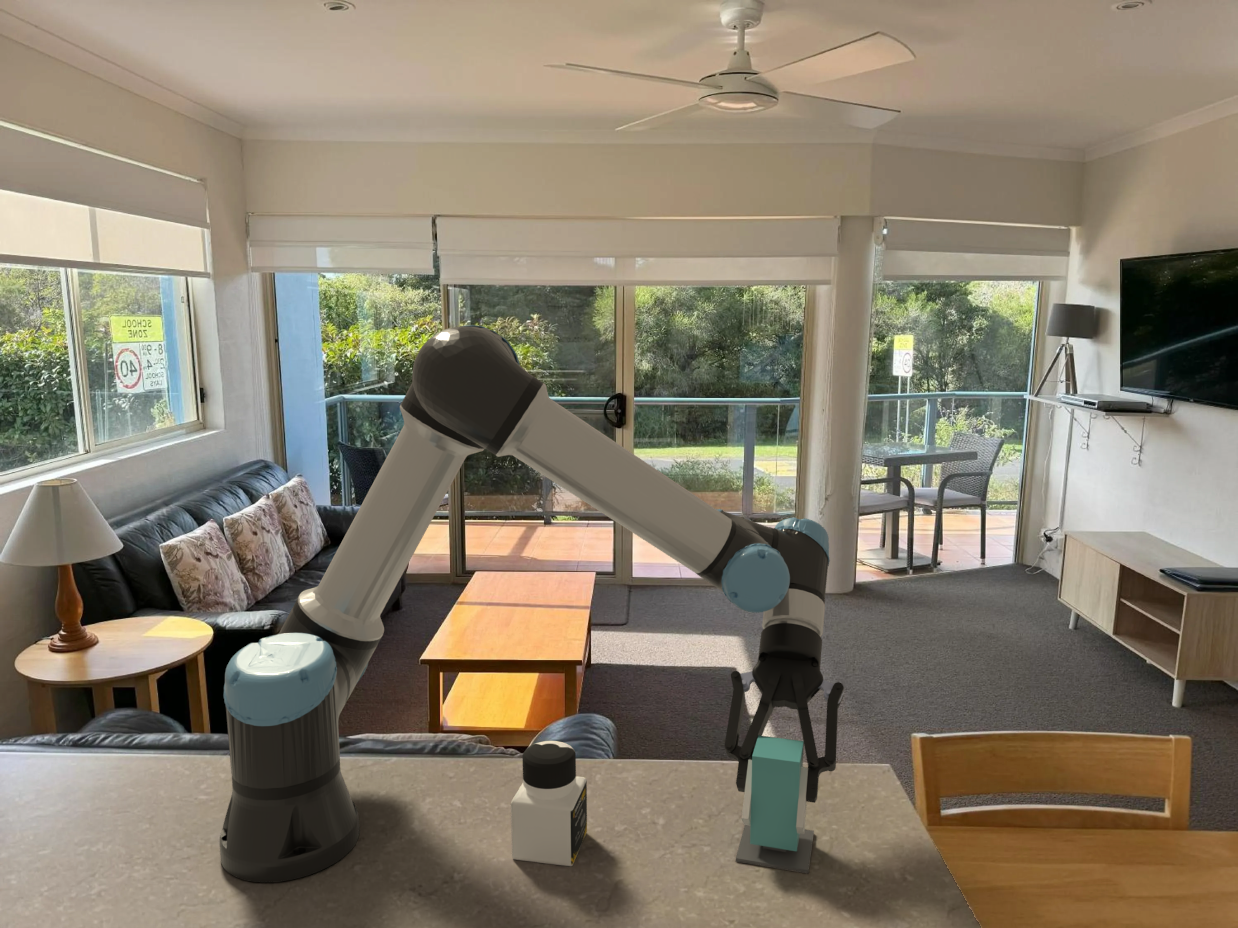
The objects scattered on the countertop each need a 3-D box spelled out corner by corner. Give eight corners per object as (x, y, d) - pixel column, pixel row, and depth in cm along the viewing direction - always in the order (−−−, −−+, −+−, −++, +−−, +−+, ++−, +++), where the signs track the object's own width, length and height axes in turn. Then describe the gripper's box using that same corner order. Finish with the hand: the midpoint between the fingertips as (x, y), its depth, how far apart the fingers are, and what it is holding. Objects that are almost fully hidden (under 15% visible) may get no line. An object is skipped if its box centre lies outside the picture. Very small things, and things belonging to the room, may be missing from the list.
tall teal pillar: (750, 843, 100) (752, 755, 98) (756, 819, 105) (758, 735, 103) (796, 851, 98) (799, 762, 97) (800, 826, 103) (803, 740, 102)
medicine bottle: (572, 867, 98) (571, 766, 96) (511, 860, 99) (508, 760, 98) (587, 832, 105) (587, 737, 103) (530, 825, 106) (528, 731, 104)
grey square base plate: (735, 861, 99) (736, 799, 98) (746, 822, 107) (747, 765, 106) (808, 873, 97) (810, 810, 96) (813, 833, 104) (815, 775, 103)
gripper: (867, 654, 111) (858, 848, 98) (722, 639, 116) (696, 822, 103) (868, 627, 105) (858, 829, 92) (716, 613, 110) (686, 803, 97)
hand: (772, 825), depth 98 cm, fingers closed on tall teal pillar, 5 cm apart
